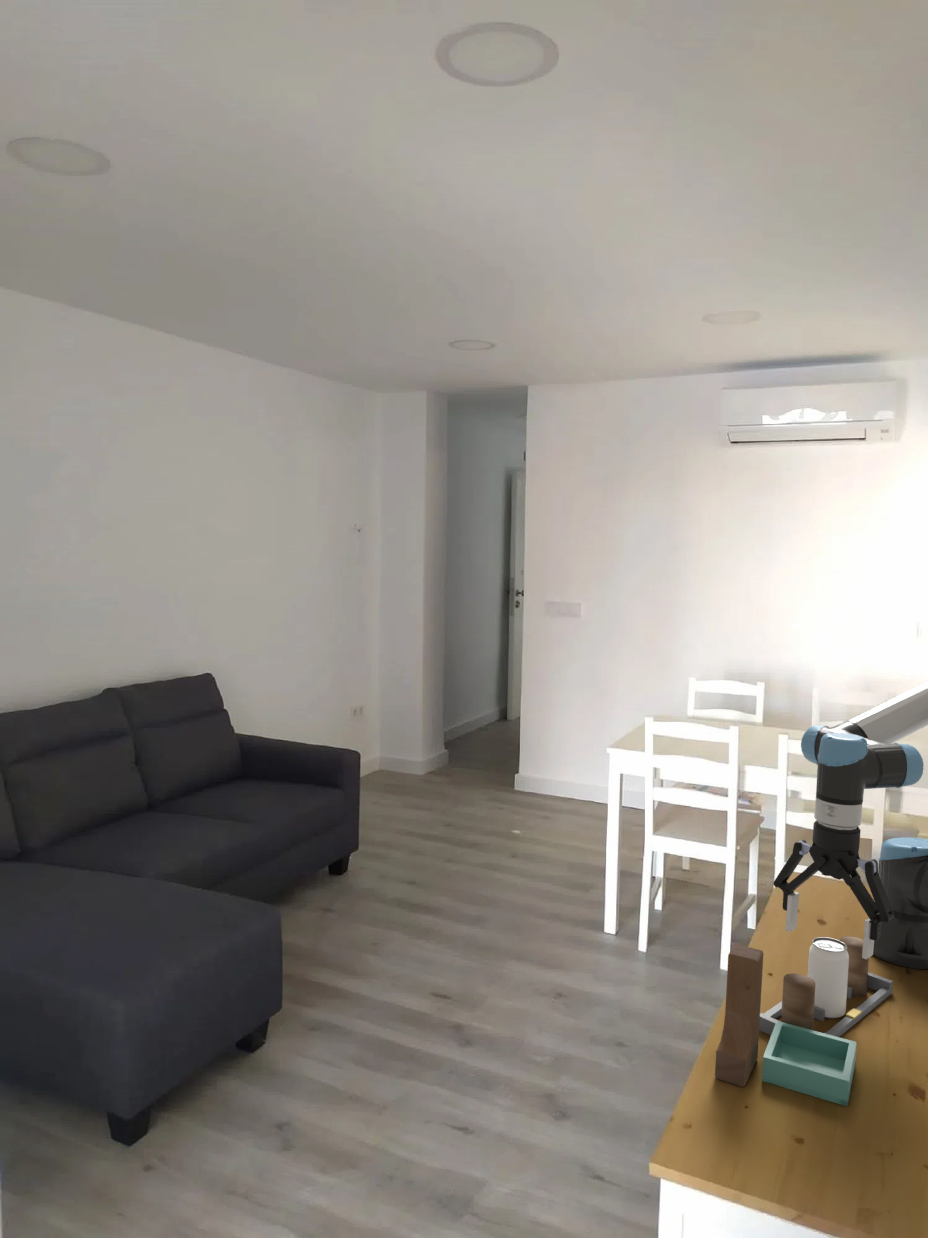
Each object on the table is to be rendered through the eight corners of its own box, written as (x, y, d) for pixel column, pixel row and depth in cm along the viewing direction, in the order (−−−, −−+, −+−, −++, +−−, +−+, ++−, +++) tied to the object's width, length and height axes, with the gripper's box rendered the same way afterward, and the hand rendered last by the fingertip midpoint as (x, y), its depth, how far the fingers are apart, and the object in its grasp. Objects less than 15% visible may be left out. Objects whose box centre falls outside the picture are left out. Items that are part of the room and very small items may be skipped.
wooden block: (744, 1089, 133) (750, 973, 132) (714, 1079, 136) (720, 965, 134) (757, 1059, 141) (764, 950, 139) (729, 1051, 143) (734, 942, 142)
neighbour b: (796, 1022, 153) (799, 971, 152) (819, 1037, 148) (822, 985, 147) (774, 1027, 151) (777, 976, 150) (795, 1043, 146) (799, 990, 145)
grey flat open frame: (832, 971, 171) (833, 959, 171) (892, 993, 163) (893, 981, 163) (753, 1027, 150) (753, 1014, 150) (817, 1056, 142) (818, 1042, 142)
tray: (775, 1043, 146) (776, 1020, 146) (855, 1065, 140) (856, 1042, 140) (761, 1081, 135) (763, 1057, 135) (847, 1106, 130) (849, 1081, 129)
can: (849, 1022, 153) (853, 954, 152) (809, 1017, 154) (813, 950, 153) (841, 1003, 159) (845, 938, 158) (802, 998, 161) (806, 934, 160)
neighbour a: (851, 981, 168) (853, 934, 167) (872, 993, 163) (875, 946, 162) (831, 985, 166) (833, 939, 165) (852, 998, 161) (855, 950, 160)
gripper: (759, 810, 160) (751, 924, 162) (904, 847, 142) (893, 975, 144) (779, 803, 166) (771, 913, 167) (921, 838, 148) (911, 962, 149)
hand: (827, 942), depth 156 cm, fingers open, 13 cm apart
